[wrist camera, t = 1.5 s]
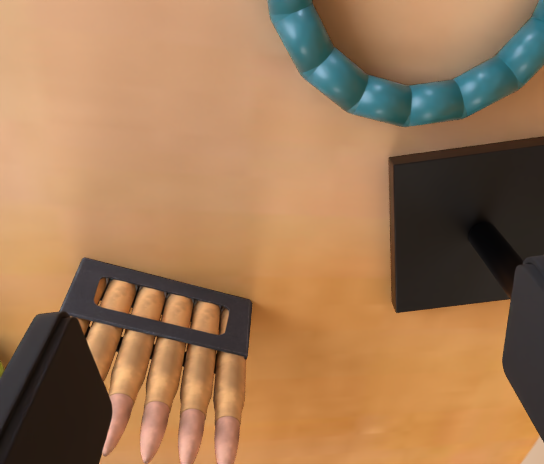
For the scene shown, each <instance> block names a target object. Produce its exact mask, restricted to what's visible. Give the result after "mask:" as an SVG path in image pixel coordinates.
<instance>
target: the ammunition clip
mask: <svg viewBox="0 0 544 464" xmlns="http://www.w3.org/2000/svg"><path fill="white" fill-rule="evenodd" d="M99 301H101V304H100V306H98V304H99ZM131 307H132V308H133V309H132V312H131V314H129V312H130V309H131ZM61 311H65V312H67V313H68V314H69V315H70V317H76V318H77V319H78V321H79V323H80V325H81V328H82V330H83V333H84V335H85V338H86V340H87V343H88V345H89V348H90V350H91V353H92V355H93V358H94V360H95V363H96V365H97V367H98V370H99V372H100V375H101V377H102V380H103V381H104V380H105V378H106V376H107V374H108V372H109V369H110V366H111V363H112V361H113V358H114V355H115V352H116V351H117V352H118V355H117V358H116V361H115V364H114V367H113V370H112V374H111V385H110V390H109V394H108V395H109V397H110V400H111V403H112V410H113V413H112V420H111V424H110V427H109V431H108V434H107V438H106V441H105V444H104V448H103V451H102V454H103V456H108V455H109V454H110V453H111V452H112V451H113V449H114V448H115V447H116V445H117V443H118V442H119V440H120V438H121V436H122V434H123V432H124V430H125V428H126V425H127V423H128V420H129V418H130V414H131V411H132V407H133V405H134V403H135V400H136V397H137V394H138V392H139V390H140V388H141V386H142V384H143V382H144V379H145V375H146V371H147V368H148V364H149V360H150V359H152V360H151V364H150V368H149V373H148V377H147V382H146V399H145V405H144V413H143V417H142V423H141V433H140V448H141V456H142V459H143V462H144V463H145V464H148V463H149V462H150V461H151V460H152V458H153V457H154V455H155V454H156V452H157V450H158V448H159V446H160V444H161V441H162V439H163V436H164V433H165V430H166V427H167V422H168V417H169V413H170V411H171V407H172V403H173V399H174V397H175V395H176V393H177V390H178V387H179V381H180V376H181V370H182V366H183V367H184V370H183V376H182V383H181V390H180V399H181V411H180V423H179V433H178V449H179V457H180V462H181V464H193V463H194V461H195V458H196V456H197V454H198V451H199V448H200V445H201V440H202V436H203V431H204V423H205V420H206V413H207V407H208V405H209V402H210V399H211V395H212V388H213V378H214V373H215V386H214V397H213V402H214V409H215V455H216V461H217V464H234V461H235V458H236V453H237V448H238V442H239V431H240V424H241V413H242V409H243V406H244V401H245V379H246V359H247V357H248V347H249V336H250V325H251V314H252V302H251V301H250V300H249V299H245V298H241V297H237V296H233V295H229V294H225V293H221V292H217V291H214V290H210V289H206V288H202V287H198V286H194V285H190V284H186V283H182V282H178V281H174V280H170V279H167V278H163V277H159V276H155V275H151V274H147V273H143V272H139V271H135V270H131V269H127V268H123V267H119V266H116V265H112V264H108V263H104V262H100V261H96V260H92V259H88V258H83V259H82V261H81V263H80V265H79V267H78V270H77V272H76V274H75V277H74V279H73V281H72V283H71V286H70V288H69V290H68V293H67V295H66V297H65V299H64V302H63V304H62V306H61V309H60V311H59V312H61ZM161 315H162V318H161ZM160 318H161V321H160ZM91 321H93V323H92V325H91V328H90V326H89V324H90V322H91ZM190 322H191V326H190ZM189 326H190V328H189ZM123 329H126V330H125V333H124V336H123V337H121V335H122V332H123ZM218 330H219V335H218ZM156 336H157V339H156V343H155V345H154V341H155V337H156ZM186 343H188V345H187V351H186V352H185V348H186ZM216 350H217V354H216Z"/></svg>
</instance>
